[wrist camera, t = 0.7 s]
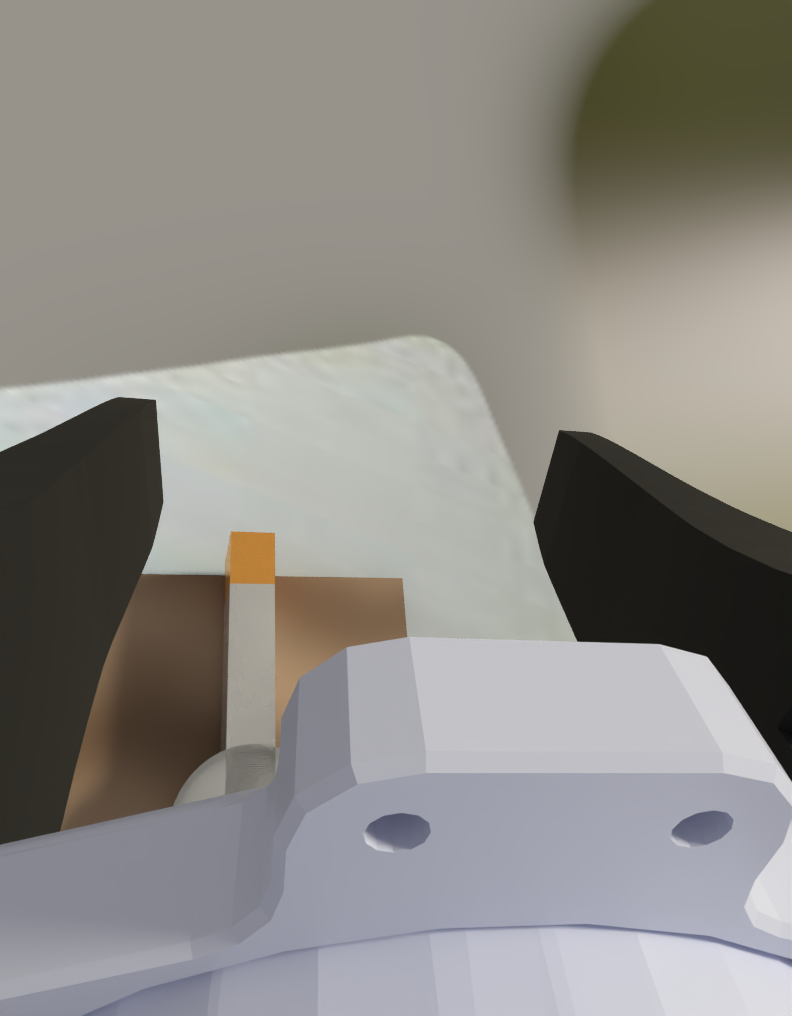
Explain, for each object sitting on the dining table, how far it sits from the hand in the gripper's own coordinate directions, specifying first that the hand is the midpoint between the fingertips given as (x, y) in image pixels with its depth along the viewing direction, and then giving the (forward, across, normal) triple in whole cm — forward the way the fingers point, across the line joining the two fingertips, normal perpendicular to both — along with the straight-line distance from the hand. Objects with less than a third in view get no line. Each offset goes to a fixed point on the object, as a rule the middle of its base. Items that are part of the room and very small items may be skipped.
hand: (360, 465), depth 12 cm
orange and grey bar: (+7, +3, +15) cm, 17 cm away
